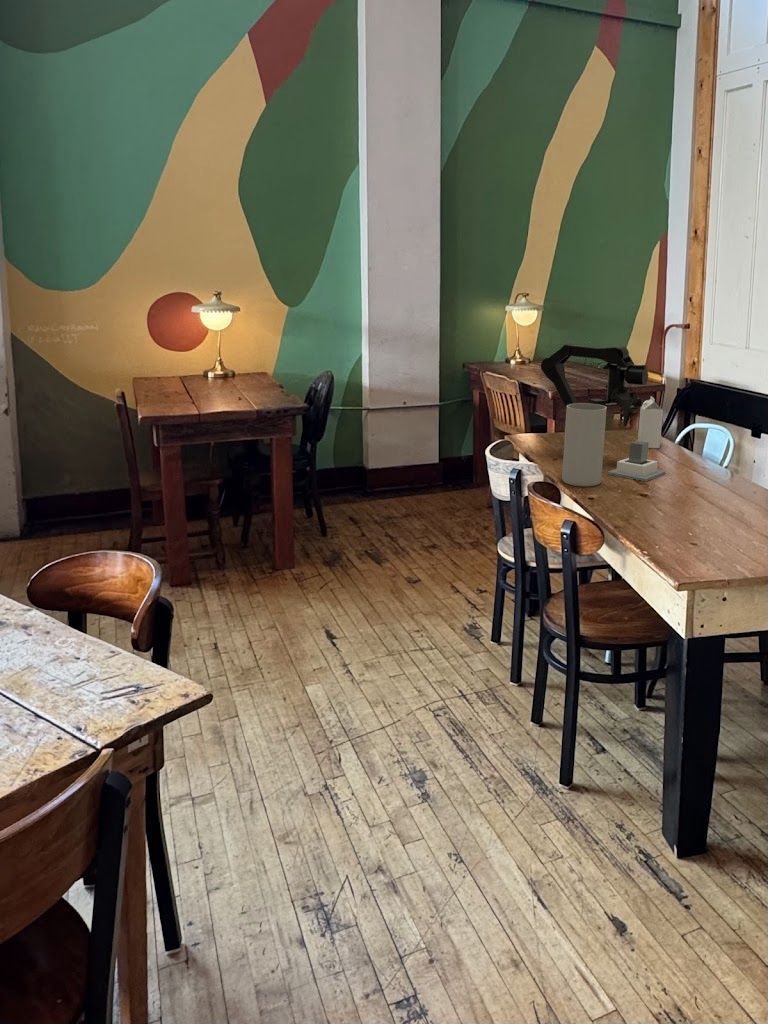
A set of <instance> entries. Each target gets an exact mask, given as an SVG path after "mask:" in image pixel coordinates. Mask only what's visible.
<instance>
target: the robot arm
mask: <svg viewBox="0 0 768 1024" xmlns="http://www.w3.org/2000/svg"><path fill="white" fill-rule="evenodd" d="M571 357H580V358H589V359H590V358H591V359H598V360H601V361H603V362H606V364H605V365H604V366H603V367H602V370H607V371H608V375H607V384H606V385H605V389H607V391H606V396H604V399H601V398H589V399H588V401H587V403H588V404H598V405H603V406H606V407H613V406H618V407H619V408H623V409H622V413H623V414H622V415H623V416H622V418H623V421H622V423H623V427H627V426H628V425H629V424H628V423H629V422H630V419H631V417H632V414H633V413H634V412H635V411H636V410H639V409H640V408H641V407H642V405H643V403H644V402H643V399H642V398H641V397H639V396H638V393H637V392H636V391H631V392H628V390H627V389H628V387H627V386H626V382H627V384H628V385H634V386H635V385H639V386H646V384H647V383H648V380H649V371H648V369H647V367H648V366H647V364H635V362H634V360H633V359H632V357H631V356H630V353H629V349H628V348H627V346H625V345H616V346H605V347H603V346H602V347H599V346H590V345H579V344H572V343H568V344H567V343H566V344H564V345H563V346H562V347H560V348H559V349H558V350H557V351H555V352H554V353H553V354H551V356H549V357H546V358H544V359H543V360H542V361H541V364H540V370H541V371H542V373H543V374H544V375H545V377H546V378H547V379H548V380H549V381H550V382H551V383H553V386H554V387H555V388H554V389H556V391H557V393H558V395H559V398H560V400H561V402H562V404H563V406H564V407H565V409H566V408H567V405H569V404H577V403H578V400H577V398H576V396H575V394H574V393H573V390H572V388H571V386H570V385H569V382H568V380H567V378H566V372H565V371H566V368H565V363H567V362H568V360H569V359H571Z"/></svg>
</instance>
